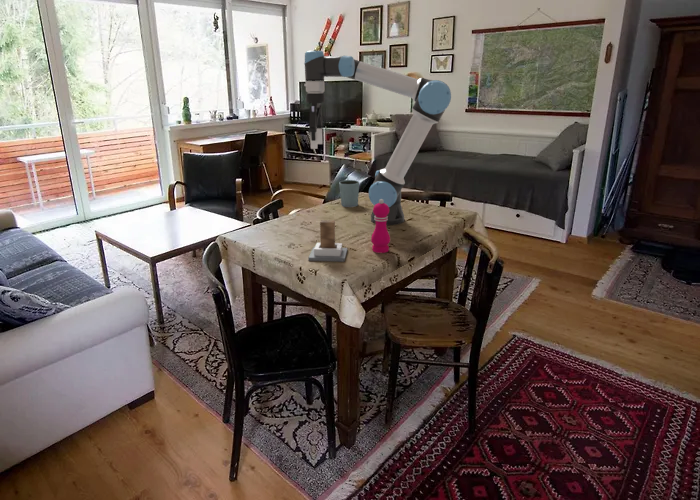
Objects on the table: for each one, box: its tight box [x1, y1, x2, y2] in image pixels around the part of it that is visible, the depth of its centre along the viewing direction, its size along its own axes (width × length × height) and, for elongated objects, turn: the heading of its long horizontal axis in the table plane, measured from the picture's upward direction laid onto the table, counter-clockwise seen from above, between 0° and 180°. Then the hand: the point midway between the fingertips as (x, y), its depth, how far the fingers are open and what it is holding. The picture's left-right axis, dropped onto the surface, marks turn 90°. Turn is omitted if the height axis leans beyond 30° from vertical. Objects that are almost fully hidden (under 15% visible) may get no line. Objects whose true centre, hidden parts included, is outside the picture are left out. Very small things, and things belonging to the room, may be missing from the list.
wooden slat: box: [319, 219, 336, 248], centre depth 170 cm, size 5×2×12 cm, turn 85°
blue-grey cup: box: [338, 179, 360, 208], centre depth 237 cm, size 10×10×12 cm
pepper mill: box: [370, 199, 391, 254], centre depth 174 cm, size 7×7×20 cm
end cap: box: [308, 242, 348, 263], centre depth 172 cm, size 13×11×4 cm
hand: (316, 146), depth 194 cm, fingers open, 13 cm apart
